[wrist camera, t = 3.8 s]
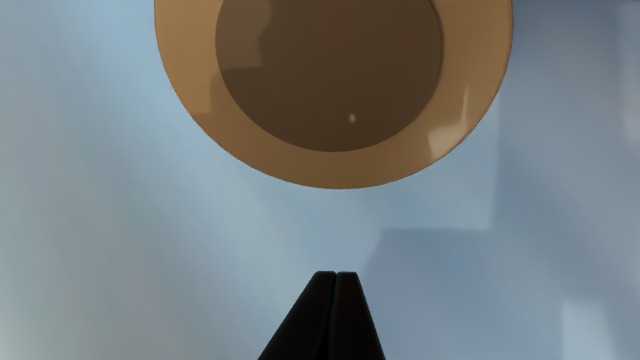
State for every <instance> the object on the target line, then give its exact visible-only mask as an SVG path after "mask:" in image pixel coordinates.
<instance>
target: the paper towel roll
mask: <svg viewBox="0 0 640 360" xmlns="http://www.w3.org/2000/svg"><path fill="white" fill-rule="evenodd" d="M154 21H155V31H156V37H157V43H158V48H159V52H160V55H161V59H162V62H163V66H164V69H165V71H166V73H167V76H168V78H169V80H170V83H171V85H172V87H173V89H174V91H175V92H176V94H177V96H178V98H179V99H180V101H181V103H182V104H183V106H184V107H185V108H186V110H187V111H188V113H189V114H190V115H191V117H192V118H193V119H194V121H195V122H196V123H197V124H198V125H199V126H200V127H201V128H202V129H203V131H204V132H205V133H206V134H207V135H208V136H209V137H210V138H212V139H213V140H214V141H215V142H216V143H217V144H218V145H219V146H220V147H222V148H223V149H224V150H226V151H227V152H229V153H230V154H231V155H233V156H234V157H235V158H237V159H239V160H240V161H242V162H244V163H245V164H247V165H249V166H251V167H252V168H254V169H257V170H259V171H261V172H263V173H265V174H267V175H270V176H272V177H275V178H278V179H281V180H284V181H287V182H291V183H295V184H299V185H303V186H309V187H316V188H324V189H356V188H365V187H371V186H377V185H381V184H385V183H389V182H393V181H396V180H399V179H402V178H404V177H407V176H410V175H412V174H414V173H416V172H418V171H420V170H422V169H424V168H426V167H428V166H430V165H432V164H433V163H435V162H436V161H438V160H439V159H441V158H442V157H444V156H445V155H447V154H448V153H449V152H450V151H452V150H453V149H454V148H455V147H456V146H458V145H459V144H460V143H461V142H462V141H463V140H464V139H465V138H466V137H467V136H468V135H469V134H470V133H471V132H472V130H473V129H474V128H475V127H476V126H477V124H478V123H479V122H480V120H481V119H482V117H483V116H484V115H485V113H486V112H487V110H488V109H489V107H490V105H491V103H492V101H493V100H494V98H495V96H496V94H497V92H498V90H499V88H500V85H501V82H502V80H503V77H504V75H505V72H506V69H507V65H508V61H509V56H510V52H511V47H512V36H513V26H514V24H513V5H512V0H154Z"/></svg>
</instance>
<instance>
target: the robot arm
mask: <svg viewBox="0 0 640 360" xmlns="http://www.w3.org/2000/svg"><path fill="white" fill-rule="evenodd" d="M258 360H386V359H385V356H384V353H383V350H382V347H381V344H380V341H379V338H378V335H377V332H376V329H375V326H374V323H373V319H372V316H371V313H370V310H369V307H368V304H367V301H366V298H365V295H364V292H363V289H362V286H361V283H360V280H359V277H358V274H357V273H356V272H338V273H337V274H336V272H334V271H317V272H316V273H315V274H314V275H313V277H312V278H311V280H310V281H309V283H308V284H307V286H306V287H305V289H304V290H303V292H302V293H301V295H300V296H299V298H298V299H297V301H296V302H295V304H294V305H293V307H292V308H291V310H290V311H289V313H288V314H287V316H286V317H285V319H284V320H283V322H282V323H281V325H280V326H279V328H278V329H277V331H276V332H275V334H274V335H273V337H272V338H271V340H270V341H269V343H268V344H267V346H266V347H265V349H264V351H263V352H262V354H261V355H260V357H259V358H258Z"/></svg>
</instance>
